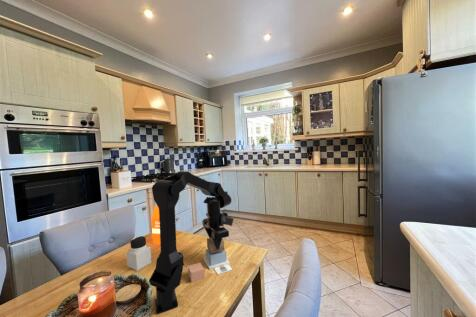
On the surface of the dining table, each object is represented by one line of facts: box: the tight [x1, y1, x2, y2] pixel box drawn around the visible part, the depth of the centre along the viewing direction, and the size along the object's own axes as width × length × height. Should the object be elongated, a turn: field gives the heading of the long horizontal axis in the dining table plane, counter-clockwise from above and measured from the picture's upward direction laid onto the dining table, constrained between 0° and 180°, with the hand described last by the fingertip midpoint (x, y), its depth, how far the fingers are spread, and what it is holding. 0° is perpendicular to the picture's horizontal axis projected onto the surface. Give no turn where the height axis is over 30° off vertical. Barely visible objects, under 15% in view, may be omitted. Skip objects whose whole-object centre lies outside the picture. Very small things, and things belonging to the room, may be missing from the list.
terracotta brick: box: [187, 262, 205, 283], centre depth 79 cm, size 5×5×4 cm
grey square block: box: [203, 248, 231, 270], centre depth 89 cm, size 9×9×5 cm
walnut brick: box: [206, 237, 225, 253], centre depth 89 cm, size 6×6×4 cm
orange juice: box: [150, 204, 161, 246], centre depth 111 cm, size 8×9×20 cm
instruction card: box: [213, 264, 233, 275], centre depth 83 cm, size 4×6×1 cm
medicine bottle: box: [126, 235, 153, 272], centre depth 89 cm, size 7×7×12 cm
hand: (215, 246), depth 89 cm, fingers closed on walnut brick, 6 cm apart
